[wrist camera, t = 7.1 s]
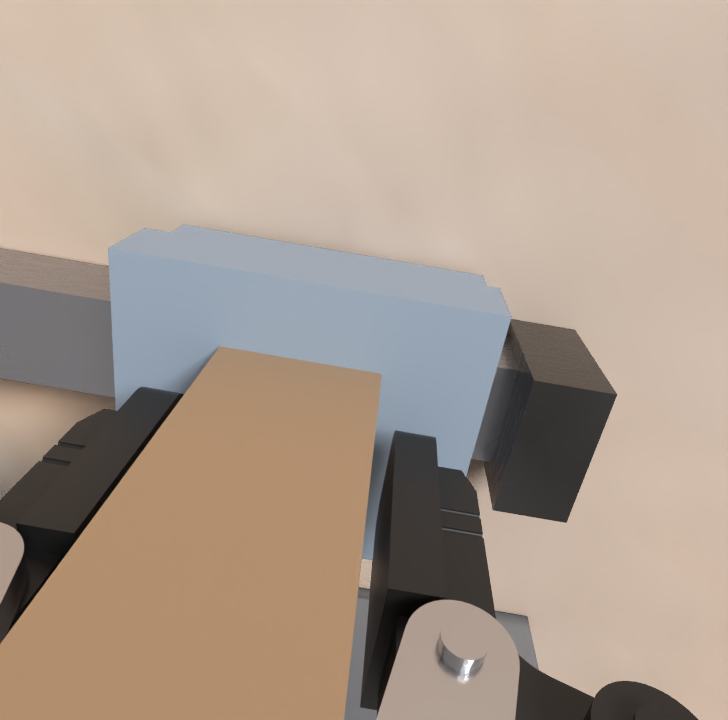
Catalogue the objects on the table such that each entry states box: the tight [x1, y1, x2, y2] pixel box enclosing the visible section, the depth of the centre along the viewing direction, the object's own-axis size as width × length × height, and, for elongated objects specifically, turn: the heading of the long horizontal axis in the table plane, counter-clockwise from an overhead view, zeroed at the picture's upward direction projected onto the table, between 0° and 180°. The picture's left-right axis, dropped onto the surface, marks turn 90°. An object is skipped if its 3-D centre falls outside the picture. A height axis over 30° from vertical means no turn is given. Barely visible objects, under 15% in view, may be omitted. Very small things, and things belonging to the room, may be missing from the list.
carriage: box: [0, 225, 512, 720], centre depth 10 cm, size 6×7×11 cm
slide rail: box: [0, 248, 617, 523], centre depth 13 cm, size 3×26×3 cm, turn 82°
